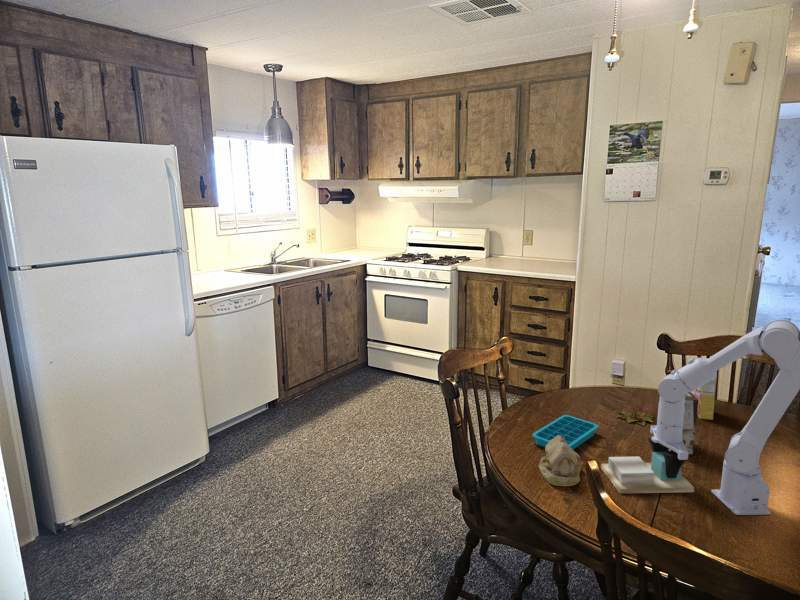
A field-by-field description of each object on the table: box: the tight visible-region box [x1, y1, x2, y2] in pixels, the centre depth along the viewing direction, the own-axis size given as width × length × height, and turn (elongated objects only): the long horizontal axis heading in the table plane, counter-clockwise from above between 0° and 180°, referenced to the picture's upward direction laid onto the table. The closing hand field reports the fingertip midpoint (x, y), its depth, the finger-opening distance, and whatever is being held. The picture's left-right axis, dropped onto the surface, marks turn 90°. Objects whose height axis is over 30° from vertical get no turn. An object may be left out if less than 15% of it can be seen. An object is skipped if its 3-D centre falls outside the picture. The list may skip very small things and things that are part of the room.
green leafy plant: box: [616, 404, 654, 427], centre depth 164 cm, size 12×12×5 cm
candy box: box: [694, 375, 718, 421], centre depth 164 cm, size 9×4×15 cm, turn 160°
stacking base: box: [600, 455, 695, 494], centre depth 128 cm, size 12×18×4 cm, turn 90°
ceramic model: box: [538, 435, 582, 487], centre depth 132 cm, size 14×11×10 cm
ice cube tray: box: [532, 414, 599, 451], centre depth 151 cm, size 12×20×3 cm, turn 133°
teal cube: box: [650, 451, 683, 480], centre depth 128 cm, size 5×5×5 cm
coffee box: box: [669, 391, 699, 455], centre depth 144 cm, size 9×6×16 cm
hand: (665, 471), depth 128 cm, fingers closed on teal cube, 5 cm apart
